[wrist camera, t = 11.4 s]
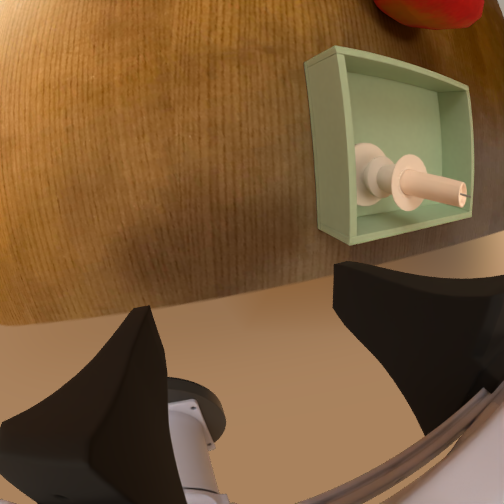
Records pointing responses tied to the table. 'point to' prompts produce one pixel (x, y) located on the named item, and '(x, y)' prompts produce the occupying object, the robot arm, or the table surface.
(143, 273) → the table surface
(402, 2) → the apple
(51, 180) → the table surface
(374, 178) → the candle
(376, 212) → the open box
